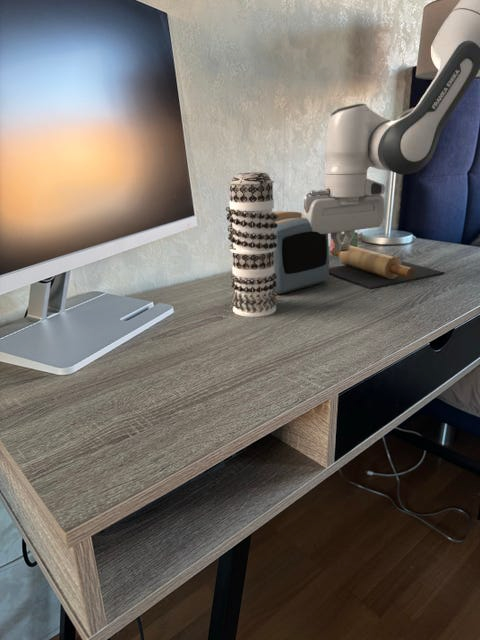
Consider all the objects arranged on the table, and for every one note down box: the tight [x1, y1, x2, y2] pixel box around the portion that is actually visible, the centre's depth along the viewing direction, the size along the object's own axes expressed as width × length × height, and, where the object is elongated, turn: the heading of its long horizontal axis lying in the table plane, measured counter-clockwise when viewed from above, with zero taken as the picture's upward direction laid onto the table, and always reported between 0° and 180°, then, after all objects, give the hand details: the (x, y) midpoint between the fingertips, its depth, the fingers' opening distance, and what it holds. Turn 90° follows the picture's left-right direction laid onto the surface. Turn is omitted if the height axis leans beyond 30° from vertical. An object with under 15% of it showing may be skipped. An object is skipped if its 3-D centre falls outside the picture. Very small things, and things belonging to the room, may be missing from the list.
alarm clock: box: [272, 211, 330, 295], centre depth 99 cm, size 16×16×16 cm
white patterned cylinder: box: [225, 171, 278, 318], centre depth 81 cm, size 9×9×25 cm
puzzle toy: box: [329, 231, 359, 252], centre depth 128 cm, size 6×6×6 cm
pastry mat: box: [329, 260, 445, 290], centre depth 107 cm, size 22×18×1 cm
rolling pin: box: [331, 245, 414, 279], centre depth 105 cm, size 5×26×5 cm, turn 26°
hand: (341, 250), depth 101 cm, fingers closed
